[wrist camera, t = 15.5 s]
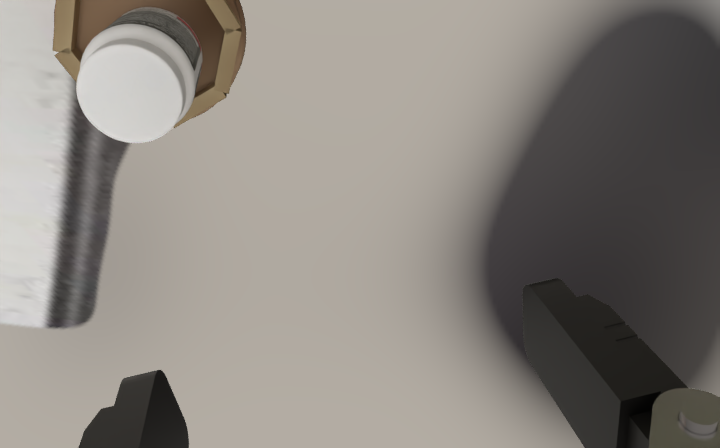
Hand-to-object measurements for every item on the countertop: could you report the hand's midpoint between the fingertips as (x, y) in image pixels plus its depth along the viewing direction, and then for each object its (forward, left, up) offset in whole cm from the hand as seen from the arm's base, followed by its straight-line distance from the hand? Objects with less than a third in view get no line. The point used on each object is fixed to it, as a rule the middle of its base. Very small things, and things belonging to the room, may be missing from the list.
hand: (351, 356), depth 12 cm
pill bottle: (-5, -5, -22) cm, 24 cm away
